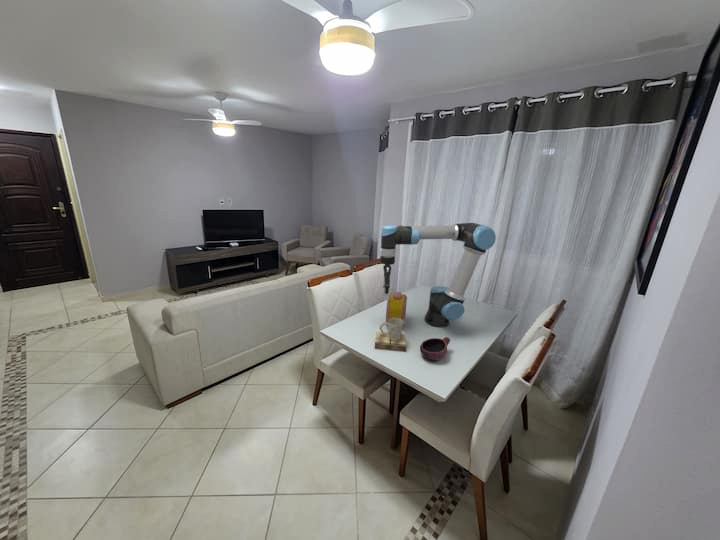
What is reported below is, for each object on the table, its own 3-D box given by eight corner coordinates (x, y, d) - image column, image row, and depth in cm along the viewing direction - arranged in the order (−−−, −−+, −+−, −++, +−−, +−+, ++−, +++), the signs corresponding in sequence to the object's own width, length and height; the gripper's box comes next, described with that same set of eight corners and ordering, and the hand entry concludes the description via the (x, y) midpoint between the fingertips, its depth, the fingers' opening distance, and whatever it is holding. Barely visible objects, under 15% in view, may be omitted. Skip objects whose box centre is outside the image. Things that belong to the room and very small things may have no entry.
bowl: (442, 367, 127) (444, 353, 125) (416, 359, 133) (417, 345, 131) (449, 351, 141) (451, 337, 138) (425, 343, 147) (427, 330, 144)
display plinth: (404, 340, 149) (405, 333, 148) (405, 351, 139) (406, 344, 138) (375, 337, 151) (376, 331, 150) (374, 348, 141) (374, 342, 139)
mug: (402, 343, 139) (403, 326, 136) (377, 340, 141) (378, 323, 138) (402, 335, 147) (404, 318, 144) (380, 332, 149) (381, 315, 146)
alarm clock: (388, 315, 177) (390, 288, 171) (405, 317, 175) (407, 290, 169) (384, 329, 160) (386, 299, 154) (403, 332, 158) (406, 301, 152)
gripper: (380, 250, 152) (379, 285, 158) (380, 262, 128) (378, 302, 135) (394, 250, 151) (392, 285, 158) (396, 262, 128) (394, 303, 134)
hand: (386, 293), depth 146 cm, fingers open, 13 cm apart
